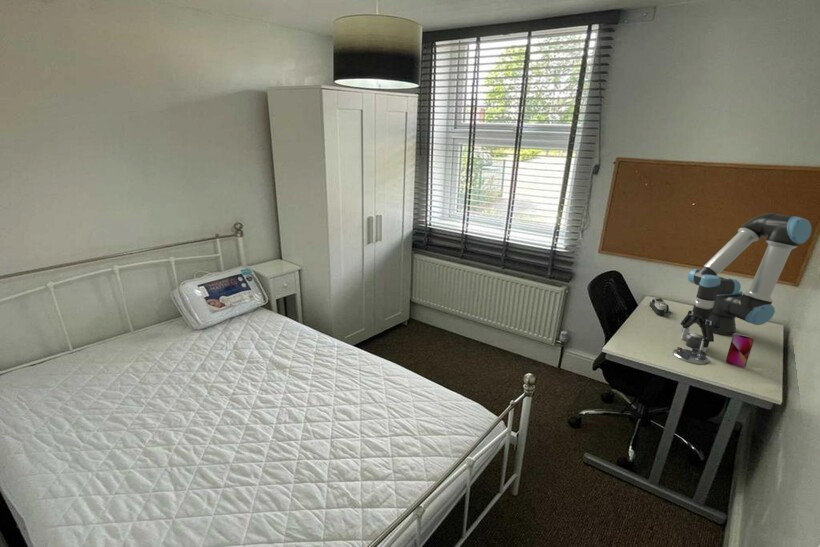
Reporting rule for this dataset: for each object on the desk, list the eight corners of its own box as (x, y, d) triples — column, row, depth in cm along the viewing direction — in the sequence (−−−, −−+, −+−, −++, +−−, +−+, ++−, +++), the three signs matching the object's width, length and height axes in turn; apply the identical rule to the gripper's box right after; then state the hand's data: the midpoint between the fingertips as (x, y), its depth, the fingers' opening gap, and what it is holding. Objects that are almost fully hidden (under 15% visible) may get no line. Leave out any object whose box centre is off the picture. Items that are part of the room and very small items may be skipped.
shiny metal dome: (694, 350, 196) (695, 344, 195) (715, 364, 182) (717, 358, 181) (666, 349, 195) (667, 343, 194) (685, 364, 182) (687, 358, 181)
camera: (672, 320, 231) (676, 304, 228) (655, 318, 232) (659, 302, 229) (661, 310, 245) (665, 295, 242) (646, 308, 247) (649, 293, 244)
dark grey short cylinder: (695, 343, 202) (698, 332, 201) (703, 349, 197) (707, 338, 195) (681, 343, 202) (684, 332, 200) (689, 349, 196) (692, 337, 195)
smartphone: (724, 362, 184) (733, 333, 180) (724, 361, 185) (733, 332, 181) (745, 368, 180) (754, 338, 175) (745, 367, 180) (754, 337, 176)
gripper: (678, 297, 205) (669, 334, 211) (714, 316, 181) (702, 358, 187) (693, 297, 205) (683, 335, 211) (730, 316, 181) (718, 358, 188)
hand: (692, 346), depth 199 cm, fingers open, 13 cm apart
